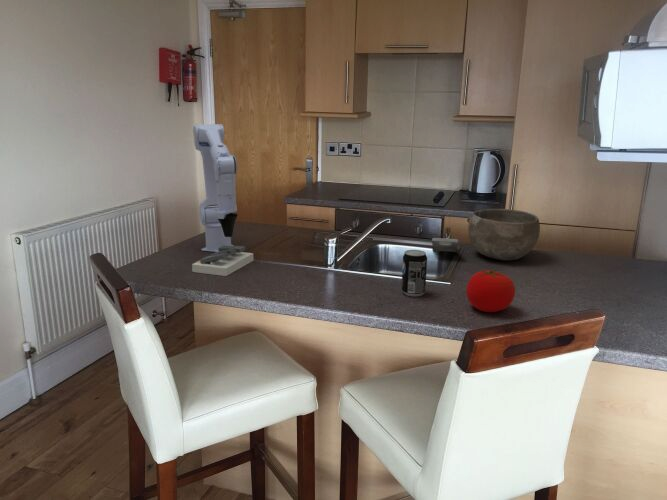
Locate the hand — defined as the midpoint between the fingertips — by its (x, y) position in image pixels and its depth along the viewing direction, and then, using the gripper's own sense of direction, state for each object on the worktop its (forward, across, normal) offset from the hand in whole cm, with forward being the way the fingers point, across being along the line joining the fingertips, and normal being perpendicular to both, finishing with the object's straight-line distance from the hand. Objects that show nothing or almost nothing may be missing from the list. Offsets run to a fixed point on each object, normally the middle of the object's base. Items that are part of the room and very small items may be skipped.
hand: (228, 236), depth 177 cm
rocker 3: (+6, -4, 0) cm, 7 cm away
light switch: (+10, -21, +71) cm, 75 cm away
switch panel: (+10, +1, -2) cm, 10 cm away
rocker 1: (+6, +7, -3) cm, 9 cm away
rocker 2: (+6, +1, -2) cm, 6 cm away
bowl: (+10, -23, +90) cm, 94 cm away
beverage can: (+10, +19, +59) cm, 63 cm away
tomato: (+10, +28, +78) cm, 84 cm away
